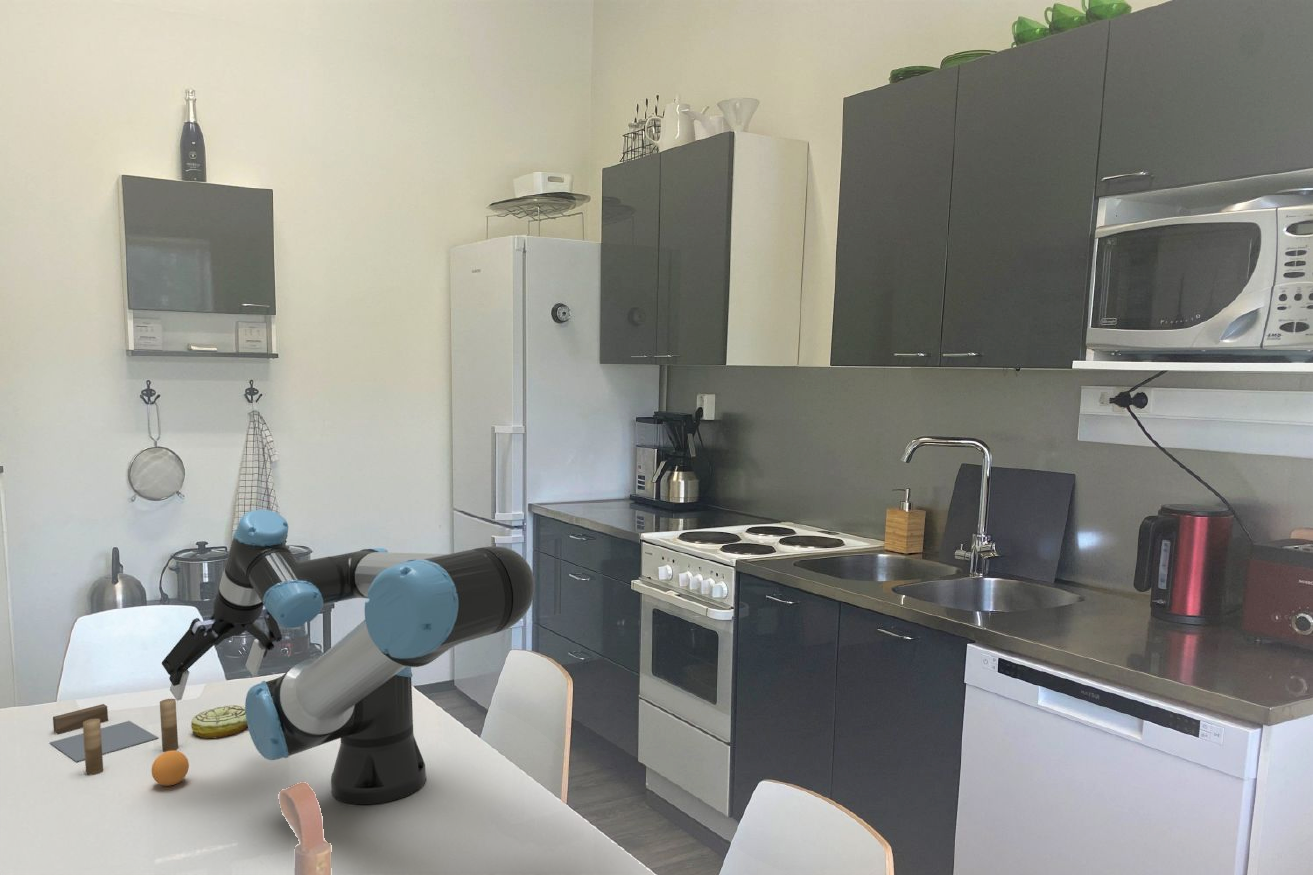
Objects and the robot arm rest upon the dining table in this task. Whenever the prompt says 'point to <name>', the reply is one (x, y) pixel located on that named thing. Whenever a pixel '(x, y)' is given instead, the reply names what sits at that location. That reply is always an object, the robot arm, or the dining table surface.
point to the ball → (170, 768)
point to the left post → (93, 746)
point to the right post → (168, 725)
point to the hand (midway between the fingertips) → (214, 682)
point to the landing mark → (105, 740)
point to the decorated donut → (220, 721)
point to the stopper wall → (79, 718)
